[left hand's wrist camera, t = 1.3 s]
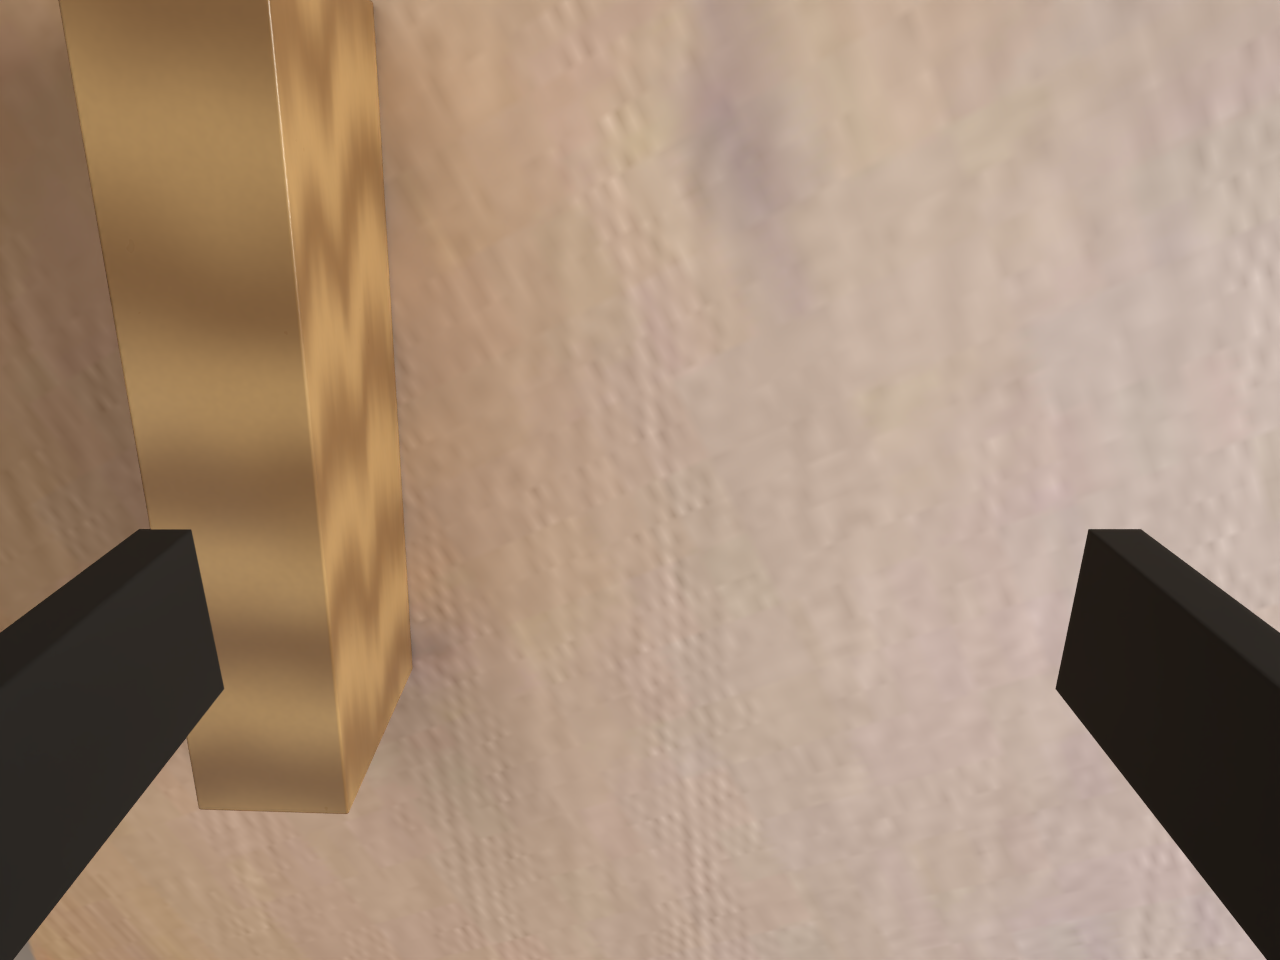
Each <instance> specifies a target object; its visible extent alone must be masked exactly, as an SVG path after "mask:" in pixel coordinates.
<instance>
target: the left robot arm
mask: <svg viewBox="0 0 1280 960" xmlns="http://www.w3.org/2000/svg"><path fill="white" fill-rule="evenodd" d="M223 690H224V685H223V680H222V675H221V670H220V665H219V660H218V656H217V651H216V646H215V641H214V636H213V631H212V626H211V622H210V617H209V612H208V607H207V602H206V597H205V593H204V588H203V583H202V578H201V573H200V568H199V564H198V559H197V554H196V549H195V544H194V539H193V534H192V530H191V529H139V530H138V531H136V532H135V533H133V534H132V535H131V536H129V537H128V538H127V539H125V540H124V541H123V542H121V543H120V544H119V545H117V546H116V547H115V548H113V549H112V550H111V551H109V552H108V553H107V554H105V555H104V556H103V557H101V558H100V559H99V560H97V561H96V562H95V563H93V564H92V565H91V566H89V567H88V568H87V569H85V570H84V571H83V572H81V573H80V574H79V575H77V576H76V577H75V578H73V579H72V580H70V581H69V582H68V583H66V584H65V585H64V586H62V587H61V588H60V589H58V590H57V591H56V592H54V593H53V594H52V595H50V596H49V597H48V598H46V599H45V600H44V601H42V602H41V603H40V604H38V605H37V606H36V607H34V608H33V609H32V610H30V611H29V612H28V613H26V614H25V615H24V616H22V617H21V618H20V619H18V620H17V621H16V622H14V623H13V624H11V625H10V626H9V627H7V628H6V629H5V630H3V631H2V632H1V633H0V960H13V959H14V958H15V957H16V955H17V954H18V953H19V952H20V950H21V949H22V948H23V946H24V945H25V944H26V943H27V941H28V940H29V939H30V937H31V936H32V935H33V934H34V932H35V931H36V930H37V929H38V927H39V926H40V925H41V923H42V922H43V921H44V920H45V918H46V917H47V916H48V914H49V913H50V912H51V911H52V909H53V908H54V907H55V905H56V904H57V903H58V902H59V900H60V899H61V898H62V896H63V895H64V894H65V893H66V891H67V890H68V889H69V887H70V886H71V885H72V884H73V882H74V881H75V880H76V878H77V877H78V876H79V875H80V873H81V872H82V871H83V870H84V868H85V867H86V866H87V864H88V863H89V862H90V861H91V859H92V858H93V857H94V855H95V854H96V853H97V852H98V850H99V849H100V848H101V846H102V845H103V844H104V843H105V841H106V840H107V839H108V837H109V836H110V835H111V834H112V832H113V831H114V830H115V828H116V827H117V826H118V825H119V823H120V822H121V821H122V819H123V818H124V817H125V816H126V814H127V813H128V812H129V811H130V809H131V808H132V807H133V805H134V804H135V803H136V802H137V800H138V799H139V798H140V796H141V795H142V794H143V793H144V791H145V790H146V789H147V787H148V786H149V785H150V784H151V782H152V781H153V780H154V778H155V777H156V776H157V775H158V773H159V772H160V771H161V769H162V768H163V767H164V766H165V764H166V763H167V762H168V760H169V759H170V758H171V757H172V755H173V754H174V753H175V752H176V750H177V749H178V748H179V746H180V745H181V744H182V743H183V741H184V740H185V739H186V737H187V736H188V735H189V734H190V732H191V731H192V730H193V728H194V727H195V726H196V725H197V723H198V722H199V721H200V719H201V718H202V717H203V716H204V714H205V713H206V712H207V710H208V709H209V708H210V707H211V705H212V704H213V703H214V701H215V700H216V699H217V698H218V696H219V695H220V694H221V693H222V691H223ZM1056 690H1057V691H1058V693H1059V694H1060V695H1061V696H1062V698H1063V699H1064V700H1065V701H1066V703H1067V704H1068V705H1069V707H1070V708H1071V709H1072V710H1073V712H1074V713H1075V714H1076V716H1077V717H1078V718H1079V719H1080V721H1081V722H1082V723H1083V725H1084V726H1085V727H1086V728H1087V730H1088V731H1089V732H1090V734H1091V735H1092V736H1093V737H1094V739H1095V740H1096V741H1097V743H1098V744H1099V745H1100V746H1101V748H1102V749H1103V750H1104V752H1105V753H1106V754H1107V755H1108V757H1109V758H1110V759H1111V760H1112V762H1113V763H1114V764H1115V766H1116V767H1117V768H1118V769H1119V771H1120V772H1121V773H1122V775H1123V776H1124V777H1125V778H1126V780H1127V781H1128V782H1129V784H1130V785H1131V786H1132V787H1133V789H1134V790H1135V791H1136V793H1137V794H1138V795H1139V796H1140V798H1141V799H1142V800H1143V802H1144V803H1145V804H1146V805H1147V807H1148V808H1149V809H1150V811H1151V812H1152V813H1153V814H1154V816H1155V817H1156V818H1157V819H1158V821H1159V822H1160V823H1161V825H1162V826H1163V827H1164V828H1165V830H1166V831H1167V832H1168V834H1169V835H1170V836H1171V837H1172V839H1173V840H1174V841H1175V843H1176V844H1177V845H1178V846H1179V848H1180V849H1181V850H1182V852H1183V853H1184V854H1185V855H1186V857H1187V858H1188V859H1189V861H1190V862H1191V863H1192V864H1193V866H1194V867H1195V868H1196V870H1197V871H1198V872H1199V873H1200V875H1201V876H1202V877H1203V878H1204V880H1205V881H1206V882H1207V884H1208V885H1209V886H1210V887H1211V889H1212V890H1213V891H1214V893H1215V894H1216V895H1217V896H1218V898H1219V899H1220V900H1221V902H1222V903H1223V904H1224V905H1225V907H1226V908H1227V909H1228V911H1229V912H1230V913H1231V914H1232V916H1233V917H1234V918H1235V920H1236V921H1237V922H1238V923H1239V925H1240V926H1241V927H1242V929H1243V930H1244V931H1245V932H1246V934H1247V935H1248V936H1249V937H1250V939H1251V940H1252V941H1253V943H1254V944H1255V945H1256V946H1257V948H1258V949H1259V950H1260V952H1261V953H1262V954H1263V955H1264V957H1265V958H1266V959H1267V960H1280V633H1279V632H1278V631H1277V630H1275V629H1274V628H1273V627H1271V626H1270V625H1269V624H1267V623H1266V622H1264V621H1263V620H1262V619H1260V618H1259V617H1258V616H1256V615H1255V614H1254V613H1252V612H1251V611H1250V610H1248V609H1247V608H1246V607H1244V606H1243V605H1242V604H1240V603H1239V602H1238V601H1236V600H1235V599H1234V598H1232V597H1231V596H1230V595H1228V594H1227V593H1226V592H1224V591H1223V590H1222V589H1220V588H1219V587H1218V586H1216V585H1215V584H1214V583H1212V582H1211V581H1210V580H1208V579H1207V578H1205V577H1204V576H1203V575H1201V574H1200V573H1199V572H1197V571H1196V570H1195V569H1193V568H1192V567H1191V566H1189V565H1188V564H1187V563H1185V562H1184V561H1183V560H1181V559H1180V558H1179V557H1177V556H1176V555H1175V554H1173V553H1172V552H1171V551H1169V550H1168V549H1167V548H1165V547H1164V546H1163V545H1161V544H1160V543H1159V542H1157V541H1156V540H1155V539H1153V538H1152V537H1151V536H1149V535H1148V534H1146V533H1145V532H1144V531H1142V530H1141V529H1089V530H1088V534H1087V539H1086V544H1085V549H1084V554H1083V559H1082V564H1081V568H1080V573H1079V578H1078V583H1077V588H1076V593H1075V597H1074V602H1073V607H1072V612H1071V617H1070V622H1069V626H1068V631H1067V636H1066V641H1065V646H1064V651H1063V656H1062V660H1061V665H1060V670H1059V675H1058V680H1057V685H1056Z"/></svg>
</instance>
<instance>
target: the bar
mask: <svg viewBox="0 0 1280 960" xmlns="http://www.w3.org/2000/svg"><path fill="white" fill-rule="evenodd" d="M59 6H60V12H61V17H62V23H63V29H64V35H65V40H66V46H67V52H68V58H69V63H70V69H71V75H72V81H73V86H74V92H75V98H76V104H77V109H78V115H79V121H80V127H81V132H82V138H83V144H84V150H85V155H86V161H87V167H88V173H89V179H90V184H91V190H92V196H93V202H94V207H95V213H96V219H97V225H98V230H99V236H100V242H101V248H102V253H103V259H104V265H105V271H106V276H107V282H108V288H109V294H110V299H111V305H112V311H113V317H114V322H115V328H116V334H117V340H118V345H119V351H120V357H121V363H122V368H123V374H124V380H125V386H126V391H127V397H128V403H129V409H130V414H131V420H132V426H133V432H134V438H135V443H136V449H137V455H138V461H139V466H140V472H141V478H142V484H143V489H144V495H145V501H146V507H147V512H148V518H149V524H150V529H191V530H192V534H193V539H194V544H195V549H196V554H197V559H198V564H199V568H200V573H201V578H202V583H203V588H204V593H205V597H206V602H207V607H208V612H209V617H210V622H211V626H212V631H213V636H214V641H215V646H216V651H217V656H218V660H219V665H220V670H221V675H222V680H223V685H224V690H223V691H222V693H221V694H220V695H219V696H218V698H217V699H216V700H215V701H214V703H213V704H212V705H211V707H210V708H209V709H208V710H207V712H206V713H205V714H204V716H203V717H202V718H201V719H200V721H199V722H198V723H197V725H196V726H195V727H194V728H193V730H192V731H191V732H190V734H189V735H188V736H187V743H188V748H189V754H190V760H191V766H192V771H193V777H194V783H195V789H196V794H197V800H198V806H199V809H206V810H237V811H269V812H301V813H333V814H347V813H349V810H350V808H351V806H352V804H353V801H354V799H355V797H356V795H357V792H358V790H359V788H360V786H361V783H362V781H363V779H364V777H365V774H366V772H367V770H368V767H369V765H370V763H371V761H372V758H373V756H374V754H375V752H376V749H377V747H378V745H379V743H380V740H381V738H382V736H383V734H384V731H385V729H386V727H387V725H388V722H389V720H390V718H391V716H392V713H393V711H394V709H395V707H396V704H397V702H398V700H399V698H400V695H401V693H402V691H403V689H404V686H405V684H406V682H407V680H408V677H409V675H410V673H411V671H412V653H411V636H410V619H409V602H408V586H407V569H406V552H405V535H404V518H403V501H402V485H401V468H400V451H399V434H398V417H397V401H396V384H395V367H394V350H393V333H392V317H391V300H390V283H389V266H388V249H387V232H386V216H385V199H384V182H383V165H382V148H381V132H380V115H379V98H378V81H377V64H376V47H375V31H374V14H373V3H372V1H370V0H59Z"/></svg>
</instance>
